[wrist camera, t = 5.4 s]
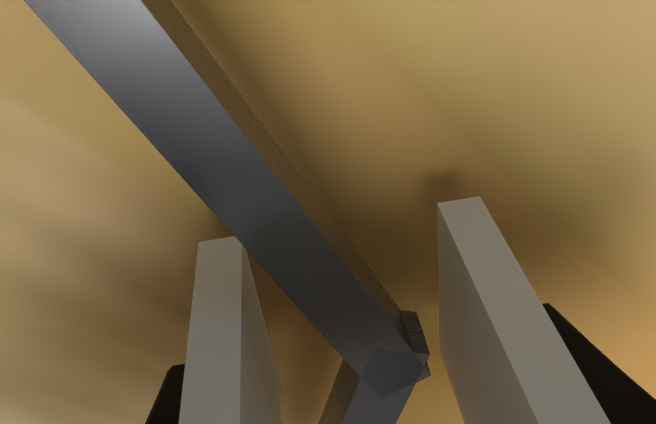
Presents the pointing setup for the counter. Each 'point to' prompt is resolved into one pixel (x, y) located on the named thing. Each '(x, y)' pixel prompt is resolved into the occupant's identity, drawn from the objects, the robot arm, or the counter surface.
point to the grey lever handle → (248, 191)
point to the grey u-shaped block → (454, 326)
